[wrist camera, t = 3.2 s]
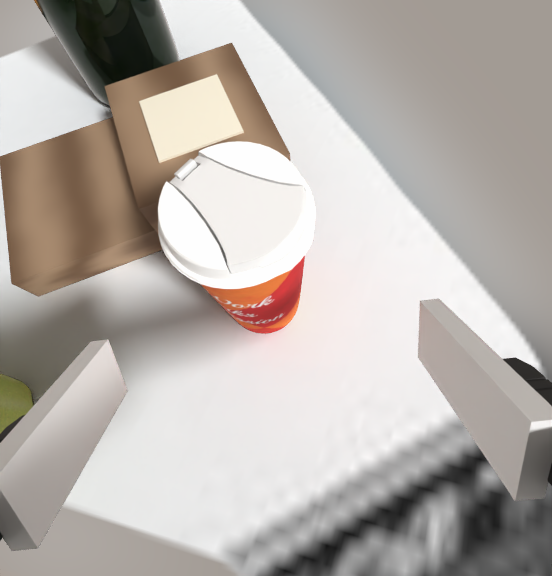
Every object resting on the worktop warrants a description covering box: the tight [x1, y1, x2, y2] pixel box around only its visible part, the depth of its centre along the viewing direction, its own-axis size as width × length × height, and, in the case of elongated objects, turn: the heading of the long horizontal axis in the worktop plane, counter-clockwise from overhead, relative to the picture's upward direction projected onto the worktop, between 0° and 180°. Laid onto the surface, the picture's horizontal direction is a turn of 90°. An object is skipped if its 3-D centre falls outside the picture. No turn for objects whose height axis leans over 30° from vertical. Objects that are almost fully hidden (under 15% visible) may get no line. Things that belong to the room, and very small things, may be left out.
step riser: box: [0, 43, 290, 296], centre depth 31 cm, size 24×14×6 cm, turn 111°
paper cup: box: [158, 141, 316, 333], centre depth 22 cm, size 8×8×14 cm
